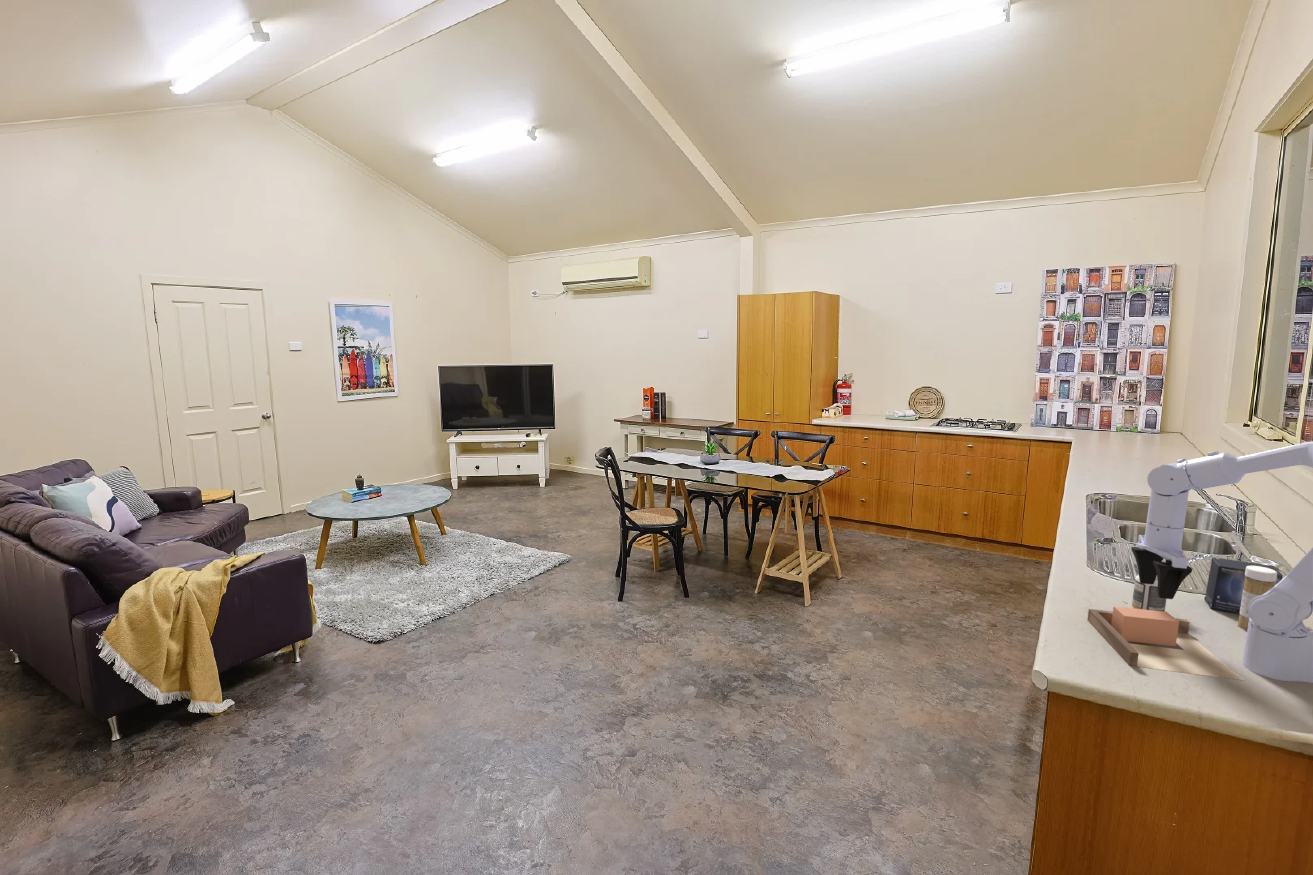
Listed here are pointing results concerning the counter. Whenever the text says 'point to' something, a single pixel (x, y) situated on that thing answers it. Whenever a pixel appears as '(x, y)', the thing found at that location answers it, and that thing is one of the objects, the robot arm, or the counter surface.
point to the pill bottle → (1147, 596)
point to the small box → (1229, 584)
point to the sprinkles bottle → (1254, 589)
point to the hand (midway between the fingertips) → (1155, 590)
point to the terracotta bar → (1145, 626)
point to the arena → (1162, 650)
